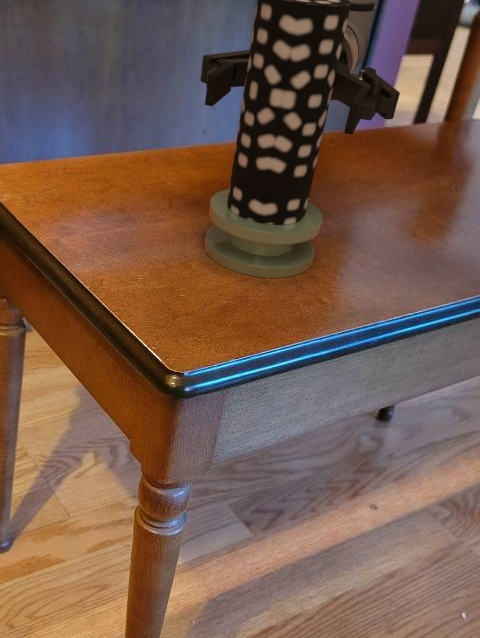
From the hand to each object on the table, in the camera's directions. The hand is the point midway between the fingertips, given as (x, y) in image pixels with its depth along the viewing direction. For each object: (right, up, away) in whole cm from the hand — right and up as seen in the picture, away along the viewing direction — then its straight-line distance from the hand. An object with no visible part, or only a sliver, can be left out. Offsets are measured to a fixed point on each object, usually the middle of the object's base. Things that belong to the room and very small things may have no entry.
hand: (279, 104), depth 69 cm
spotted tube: (0, -7, +10) cm, 12 cm away
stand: (-1, -11, +12) cm, 17 cm away
